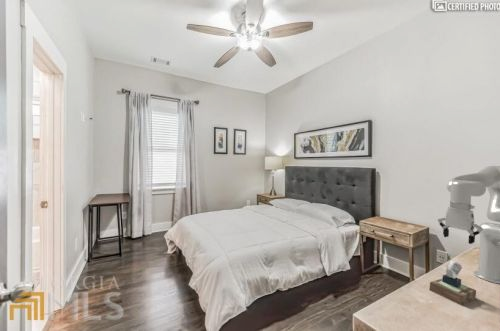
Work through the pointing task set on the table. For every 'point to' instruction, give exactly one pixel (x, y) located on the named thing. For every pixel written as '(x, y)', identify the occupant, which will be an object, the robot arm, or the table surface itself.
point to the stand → (453, 292)
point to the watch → (452, 274)
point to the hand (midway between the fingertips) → (458, 239)
